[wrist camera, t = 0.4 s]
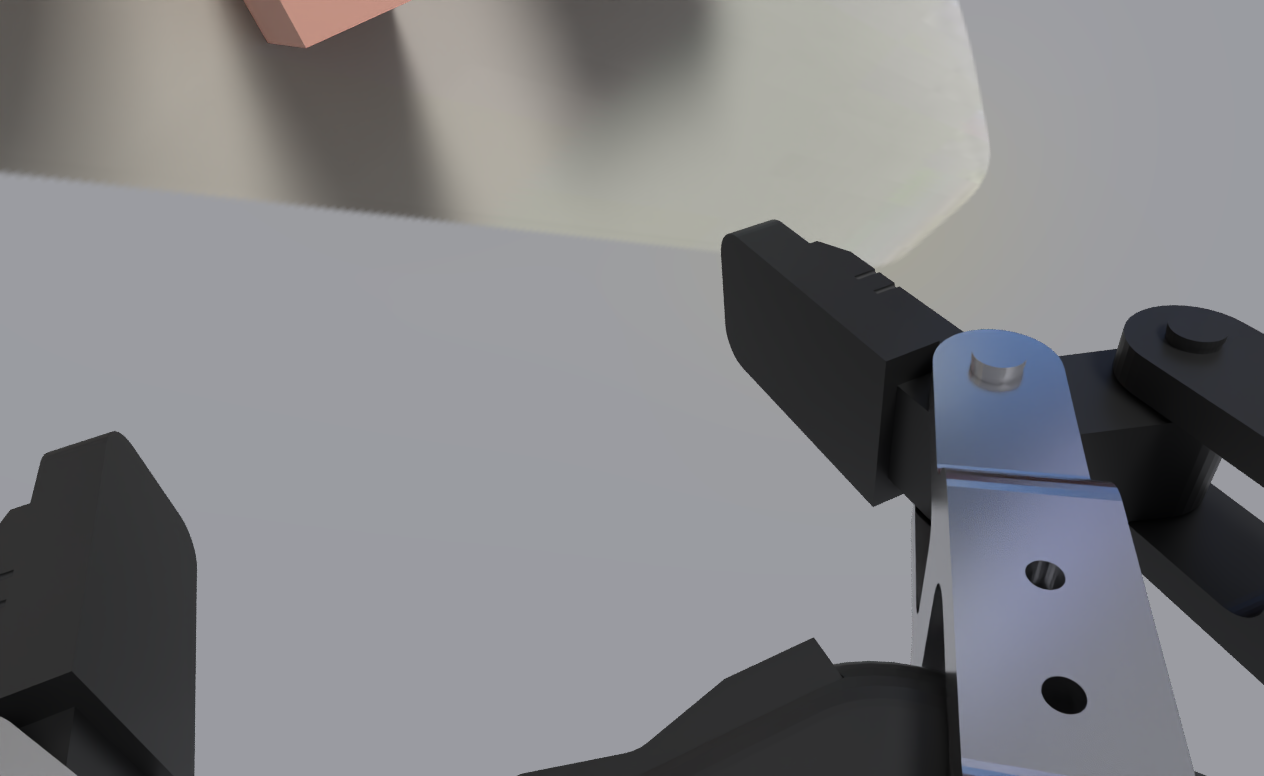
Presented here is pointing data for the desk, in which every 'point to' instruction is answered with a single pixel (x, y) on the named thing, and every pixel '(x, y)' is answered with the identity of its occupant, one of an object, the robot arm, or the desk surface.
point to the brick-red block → (312, 18)
